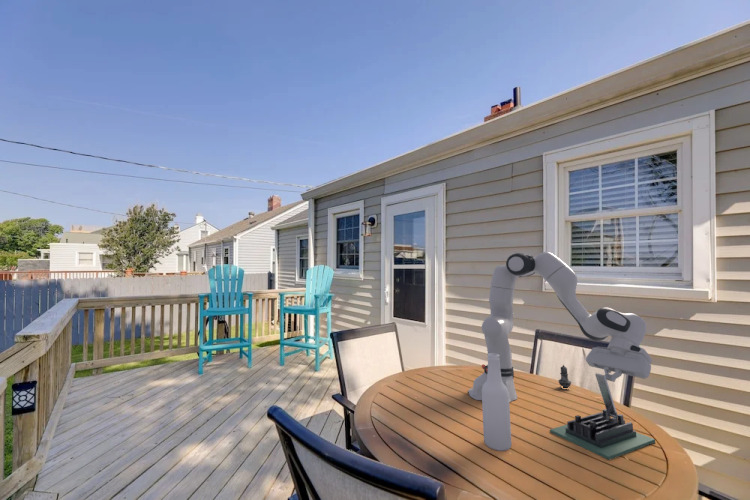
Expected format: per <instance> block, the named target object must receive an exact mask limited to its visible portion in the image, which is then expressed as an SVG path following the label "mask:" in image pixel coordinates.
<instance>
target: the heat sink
mask: <svg viewBox="0 0 750 500" xmlns="http://www.w3.org/2000/svg"><path fill="white" fill-rule="evenodd" d="M617 416H618V419H617V418H614V417H611V416H608V413H607V410H606V408H605V409H602V411H601V412H598V413H593V414H591V415H587V416H583V417H582V416H581V415H575V416H574V419H572V420H569V421H566V423H567V424H566V425H567V426H568V427H567V428H565V429H566V433H568V434H570V435H572V436H575V437H577V438H579V439H581V440H584V441H586V442H588V443H590V444H593V445H595V446H597V447H599V448H604V447H606V446H609V445H612V444H615V443H618V442H621V441H623V440H626V439H629V438H632V437H635V436H636V432H637V431H636V430H634V425H633V422H627V423H626V420H625V419H624V415H623V414H620V413H619V414H617Z"/></svg>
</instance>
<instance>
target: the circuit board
mask: <svg viewBox="0 0 750 500" xmlns="http://www.w3.org/2000/svg"><path fill="white" fill-rule="evenodd" d="M567 427H568V426H567V424H564V425H560V426H558V427H554V428H550V429H549V433H551V434H553V435H555V436H557V437H559V438H562V439H564V440H566V441H568V442H570V443H572V444H574V445H576V446H579V447H580V448H582V449H585V450H587V451H589V452H591V453H593V454H595V455H597V456H600V457H601V458H604V459H606V460H609V461H611V460H613V459H615V457H616V458H619V457H621V456H624V455H626V454H628V453H629V454H630V453H631V452H633V451H636V449H637V450H638V449H641V448H643V447H647V446H650V445H652V444H655V443H656V439H655V438H652V437H649V436H647V435H645V434H642V433H639V432H637V431H636V436H635V437H632V438H629V439H626V440H623V441H621V442H618V443H615V444H612V445H609V446H606V447H604V448H599V447H597V446H595V445H593V444H590V443H588V442H586V441H584V440H581V439H579V438H577V437H575V436H572V435H570V434H568V433H566V429H565V428H567ZM649 444H650V445H649ZM646 445H647V446H646ZM623 454H624V455H623ZM618 456H619V457H618ZM610 459H611V460H610Z"/></svg>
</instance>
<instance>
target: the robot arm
mask: <svg viewBox="0 0 750 500" xmlns="http://www.w3.org/2000/svg"><path fill="white" fill-rule="evenodd" d="M535 273H536V274H538V275H540V277H542V278H543V279H544V280H545V281H546V282H547V283H548V284H549V286H550V287H551V288H552V289H553V291H554V293H555V294H556V297H557V298H558V300H559V301H560V303H561V304H562V305H563V307H564V308H566V310H567V312H568V313H569V314H570V315H571V316H572V317H573V319H574V320H575V322H576V323H577V324H578V327H579V328H580V330H581V333H583V335H584V336H585V337H586V338H588V339H589V340H592V341H596V342H600V341H603V340H605V339H607V338H608V337H611V338H610V341H609V343H608V345H607V347H605V346H599V345H598V346H594V347H592V348H591V350H590V351H589V353H588V354H587V356H586V357H585V361H586V364H587V365H588V366H590V367H592V368H597V369H601V370H603V371H604V375H605V377H606V380H607V381H610V382H613V383H614V382H616V379H619V378H620V377H622V375H627V376H630V377H635V378H640V379H644V380H645V379H648V378H649V377H650V375H651V370H652V365H651V363H652V361H653V360H652V359H653V358H651V356H650V354H649V353H648V352H647V351H646V349H645V348H643V347H641V346H640V345H641V343H643V341H644V338H645V335H646V332H647V323H646V321H645V320H644V319H643V317H641V316H639V315H637V314H635V313H631V312H628V313H626V312H625V313H624V312H620V311H617V310H616V309H613V308H611V307H600V308H598V310H596V311H594V312H593V313H592V314H591V313H590V312H588V310H587V309H586V308H585V306H583V304H582V302H580V301H579V299H578V298H577V294H576V292H577V291H576V290H577V284H578V277H577V275H576V272H574V270H573V269H572V268H571V267H570V266H569V265H567V263H565V262H564V261H563V260H562V259H560V258H559V257H558V256H556V255H555V254H553V253H552V252H549V251H544V252H540V253H539V254H537V255H536V256H533V255H530V254H529V253H523V252H522V253H521V252H515V253H513V254H511V255H509V256H508V257H507V259H506V262H505V264H504V265H501V264H500V265H498V266H496V267H495V268H494V270H493V273H492V276H491V282H490V291H489V299H488V302H489V308H490V314H489V315H490V316H488V317H486V318H485V319H484V320H483V321H482V324H481V330H482V333H483V334H484V339H485V340H484V341H485V343H486V344H485V345H486V349H487V350H486V351H487V354H489V353H495V354H498V355H499V358H500V360H499V362H500V370H501V378H502V382H503V383H504V385H505V386H506V387H507V389H508V392H509V404H510V403H511V402H512V401H515V400H517V399H518V395H517V391H516V388H515V387H516V386H515V381H514V379H515V378H514V377H515V372H514V371H515V370H514V367H513V359H512V358H513V357H512V349H511V346H510V343H509V336H508V335H509V334H511V332H512V331H513V328H514V311H513V310H514V306H513V305H514V295H515V287H516V286H515V285H516V280H517V279H518V278H524V277H530V276H532V275H534V274H535ZM481 368H482V369H483V370H484V371H483V373H481V374H480V375H479V376H477V377H476V378H474V380H473V385H472V388H471V387H470V388H469V389H468V392H469V393H468V395H469V397H471V398H472V399H473V400H476V401H482V387H483V385H484V383H485V382H486V381H487V374H488V364H486V365H485V364H481ZM612 372H614V373H613V374H611V373H612Z"/></svg>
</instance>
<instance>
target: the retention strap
mask: <svg viewBox="0 0 750 500" xmlns="http://www.w3.org/2000/svg"><path fill="white" fill-rule="evenodd" d="M594 375H595V378H596V381H597V384H598V388H599V391H600V394H601V397H602V400H603V401H602V402H603V404H604V407H605V409H606V410H607V413H608V416H610V417H611V418H613V417H614V418H617V419H618V416H617V415H618V411H617V409H616V405H615V401H614V400H613V396H612V393H611V390H610V386H609V384H608V380H606V377H605V374H600V373H595V374H594Z"/></svg>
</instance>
